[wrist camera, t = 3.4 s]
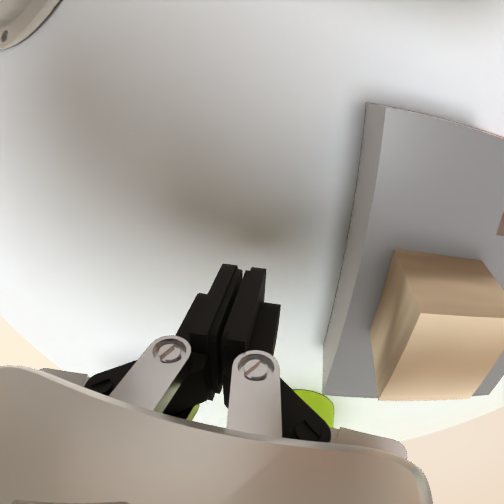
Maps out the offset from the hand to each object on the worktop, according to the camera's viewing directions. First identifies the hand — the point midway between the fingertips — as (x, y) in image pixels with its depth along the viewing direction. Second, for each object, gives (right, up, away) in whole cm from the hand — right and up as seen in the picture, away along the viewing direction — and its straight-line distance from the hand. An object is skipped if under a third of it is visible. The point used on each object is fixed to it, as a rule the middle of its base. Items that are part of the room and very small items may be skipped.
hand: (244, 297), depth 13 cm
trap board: (+17, +1, +2) cm, 17 cm away
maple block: (+8, 0, 0) cm, 8 cm away
